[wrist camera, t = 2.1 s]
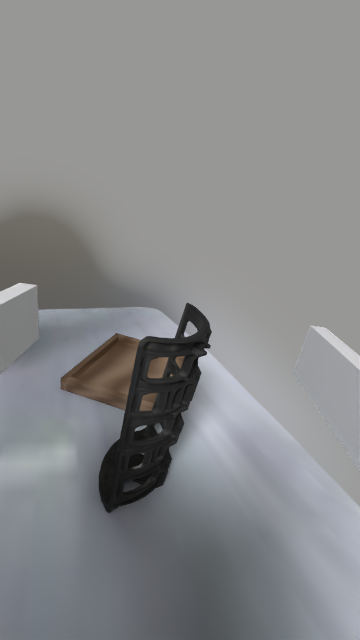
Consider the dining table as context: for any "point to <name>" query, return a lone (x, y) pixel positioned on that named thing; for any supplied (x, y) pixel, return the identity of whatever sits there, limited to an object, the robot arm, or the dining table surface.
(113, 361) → the tray
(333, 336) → the robot arm
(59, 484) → the dining table surface
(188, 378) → the holder
